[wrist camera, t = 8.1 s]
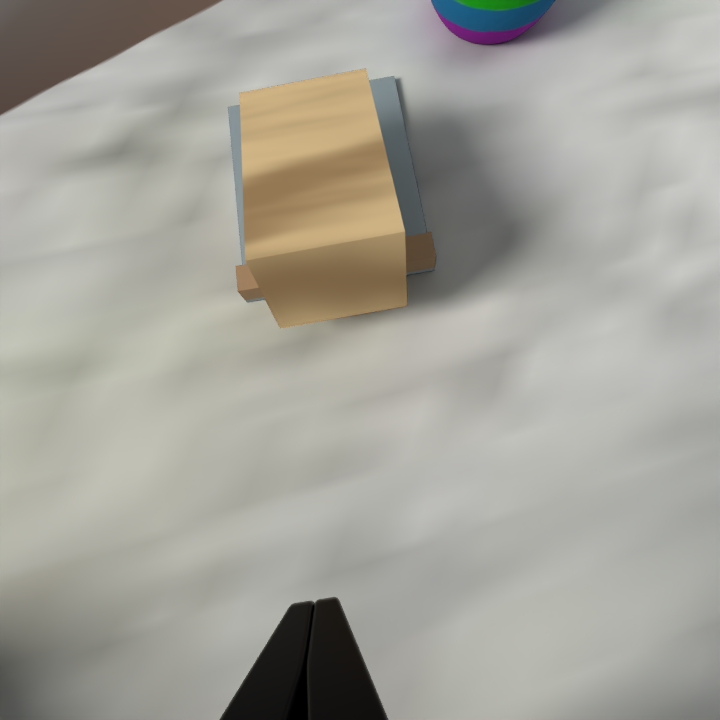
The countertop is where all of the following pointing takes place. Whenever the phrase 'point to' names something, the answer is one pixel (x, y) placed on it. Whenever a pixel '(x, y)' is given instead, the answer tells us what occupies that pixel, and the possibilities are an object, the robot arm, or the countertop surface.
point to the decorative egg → (490, 18)
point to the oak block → (320, 201)
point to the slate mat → (403, 176)
